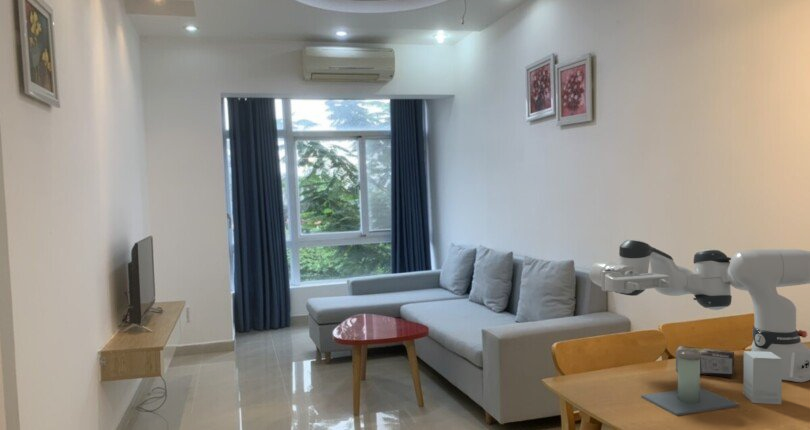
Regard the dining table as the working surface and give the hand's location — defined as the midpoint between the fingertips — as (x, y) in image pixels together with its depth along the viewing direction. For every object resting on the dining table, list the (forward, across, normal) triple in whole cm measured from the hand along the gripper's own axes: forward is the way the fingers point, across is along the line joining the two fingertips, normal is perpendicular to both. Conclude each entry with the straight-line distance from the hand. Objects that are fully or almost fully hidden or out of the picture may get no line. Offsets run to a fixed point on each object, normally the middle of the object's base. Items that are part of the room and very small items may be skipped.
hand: (654, 286), depth 175 cm
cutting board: (+14, 0, -30) cm, 33 cm away
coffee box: (-12, -18, -27) cm, 34 cm away
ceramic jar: (+14, 0, -29) cm, 33 cm away
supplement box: (+19, -20, -30) cm, 41 cm away
